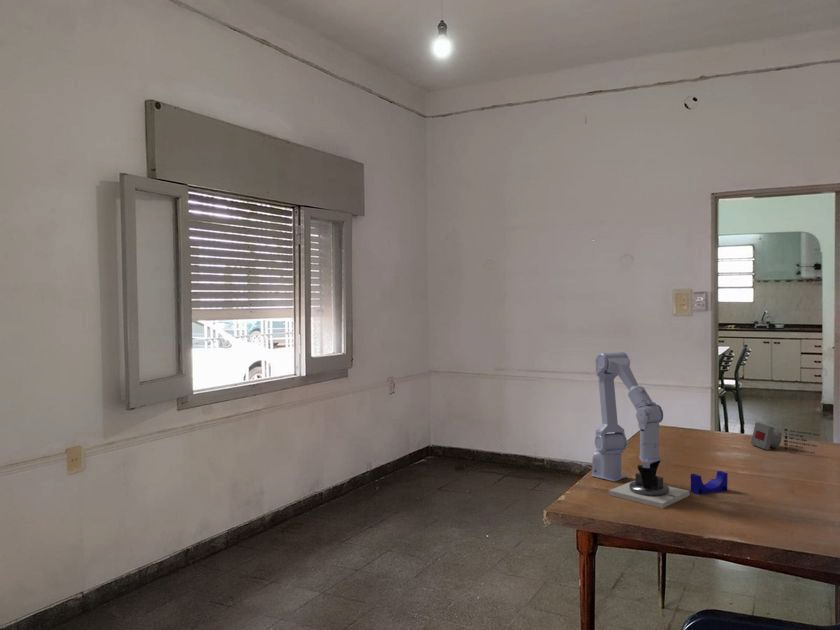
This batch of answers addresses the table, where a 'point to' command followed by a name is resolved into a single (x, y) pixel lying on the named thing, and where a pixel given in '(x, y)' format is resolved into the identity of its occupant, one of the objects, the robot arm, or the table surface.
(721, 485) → the blue cradle block
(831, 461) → the table surface
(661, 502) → the dial panel
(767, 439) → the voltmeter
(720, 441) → the table surface
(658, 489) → the dial
